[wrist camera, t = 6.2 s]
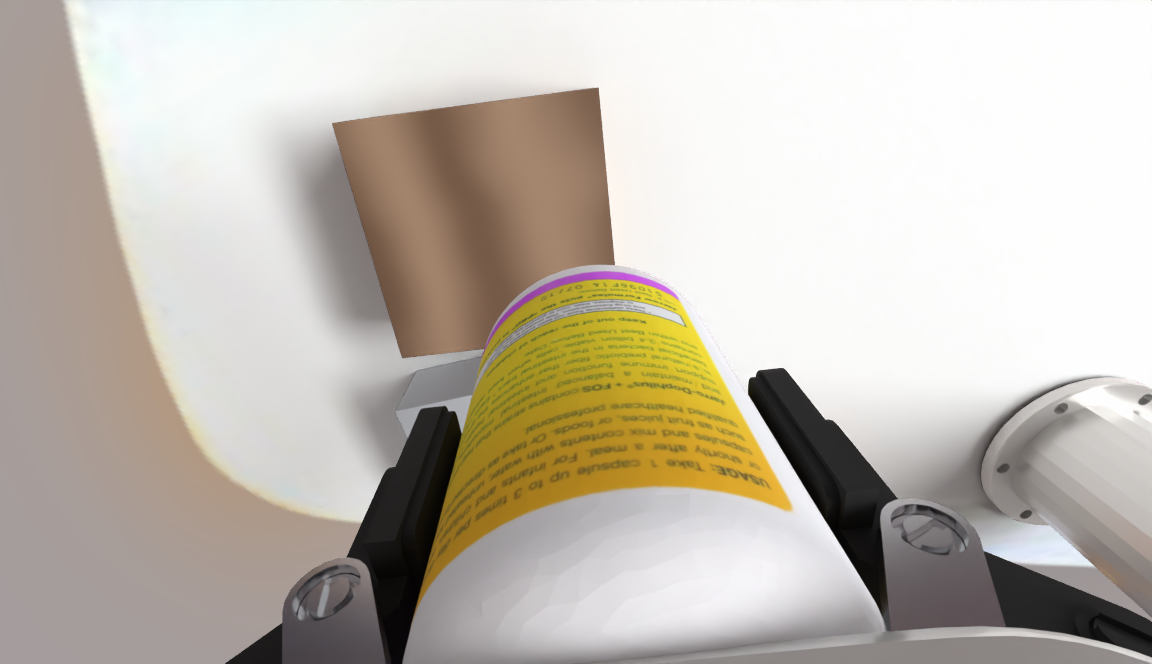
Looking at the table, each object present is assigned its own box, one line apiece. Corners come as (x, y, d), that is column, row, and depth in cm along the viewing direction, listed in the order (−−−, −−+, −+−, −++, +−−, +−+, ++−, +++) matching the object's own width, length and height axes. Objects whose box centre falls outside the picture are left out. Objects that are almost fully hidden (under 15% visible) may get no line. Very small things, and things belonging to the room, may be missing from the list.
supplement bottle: (437, 347, 15) (29, 1235, 3) (623, 207, 13) (1032, 972, 2) (576, 486, 17) (613, 1284, 6) (748, 381, 16) (1267, 1187, 4)
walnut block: (593, 87, 27) (598, 87, 23) (613, 298, 32) (621, 333, 28) (370, 117, 28) (331, 123, 23) (424, 321, 33) (402, 358, 28)
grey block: (533, 343, 34) (527, 383, 29) (562, 440, 37) (562, 489, 33) (417, 369, 35) (394, 411, 30) (456, 462, 38) (441, 512, 33)
